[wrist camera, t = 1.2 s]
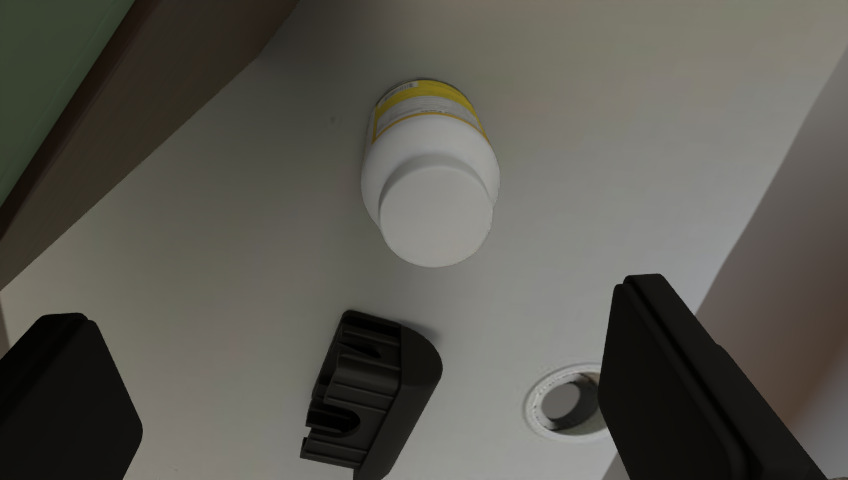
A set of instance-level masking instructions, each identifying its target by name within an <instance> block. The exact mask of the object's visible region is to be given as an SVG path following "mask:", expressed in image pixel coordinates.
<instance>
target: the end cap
mask: <svg viewBox="0 0 848 480" xmlns="http://www.w3.org/2000/svg"><path fill="white" fill-rule="evenodd" d="M442 371H443V365H442V361H441V358H440V355H439V353H438V352H437V350H436V349H435V347H434V346H433V345H432V344H431V343H430V342H429V340H427V339H426V338H425V337H424V336H422V335H421V334H419V333H418V332H416V331H414V330H412V329H410V328H408V327H405V326H402V325H400V324H398V323H395V322H392V321H388V320H385V319H381V318H377V317H374V316H370V315H366V314H363V313H359V312H355V311H347V312H345V313H344V314H343V315H342V318H341V320H340V323H339V325H338V328H337V330H336V333H335V335H334V338H333V340H332V343H331V346H330V348H329V351H328V353H327V356H326V358H325V361H324V363H323V366H322V368H321V371H320V374H319V376H318V379H317V381H316V384H315V386H314V389H313V391H312V400H311V403H310V406H309V409H308V414H307V419H306V425H305V426H307V427H311V430H310V433H309V435H308V438H307V437H304V439H303V441H302V447H301V453H300V458H303V459H308V460H313V461H317V462H322V463H327V464H332V465H337V466H342V467H346V468H351V469H354V471H353V480H381V479H383V478H384V477H385V476H386V475H387V474H388V473H389V472H390V470H391V469H392V467H393V465H394V463H395V462H396V460H397V458H398V456H399V454H400V452H401V451H402V449H403V447H404V445H405V443H406V441H407V439H408V438H409V436H410V434H411V432H412V430H413V428H414V427H415V425H416V423H417V421H418V419H419V417H420V415H421V414H422V412H423V410H424V408H425V406H426V404H427V403H428V401H429V399H430V397H431V395H432V393H433V391H434V390H435V388H436V386H437V384H438V382H439V380H440V378H441V375H442Z"/></svg>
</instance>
